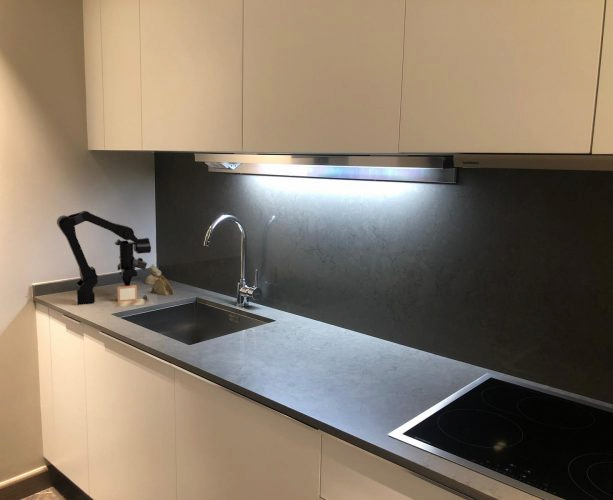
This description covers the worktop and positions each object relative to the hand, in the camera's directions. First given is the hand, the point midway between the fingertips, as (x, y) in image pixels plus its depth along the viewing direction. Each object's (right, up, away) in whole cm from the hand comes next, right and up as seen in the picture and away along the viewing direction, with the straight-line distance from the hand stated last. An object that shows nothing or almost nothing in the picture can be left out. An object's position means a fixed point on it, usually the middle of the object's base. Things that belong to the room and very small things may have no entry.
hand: (127, 288), depth 248 cm
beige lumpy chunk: (+2, 0, +33) cm, 33 cm away
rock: (+13, -4, +10) cm, 17 cm away
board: (+4, -6, -7) cm, 10 cm away
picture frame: (+1, -5, -5) cm, 7 cm away
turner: (+10, -5, -4) cm, 12 cm away
